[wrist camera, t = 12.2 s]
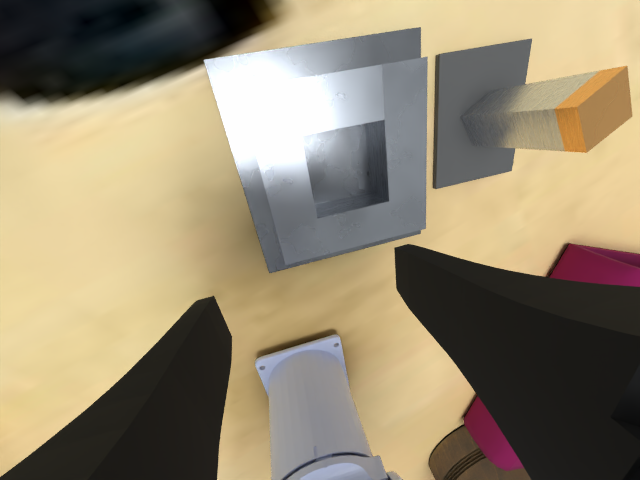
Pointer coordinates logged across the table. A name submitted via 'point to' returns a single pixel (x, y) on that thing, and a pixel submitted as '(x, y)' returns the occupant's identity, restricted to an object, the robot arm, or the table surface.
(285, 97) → the block
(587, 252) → the book
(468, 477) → the wooden container
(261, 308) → the table surface
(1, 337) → the table surface
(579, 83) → the orange and grey block
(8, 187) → the table surface
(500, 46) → the mat
